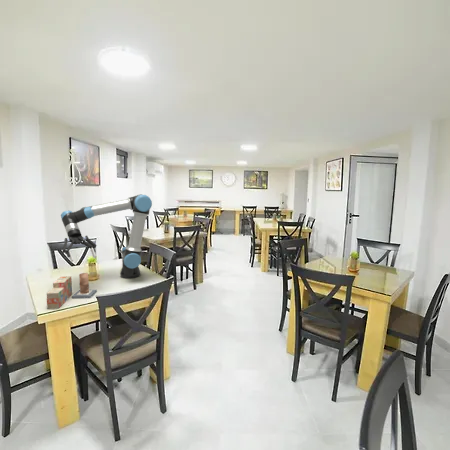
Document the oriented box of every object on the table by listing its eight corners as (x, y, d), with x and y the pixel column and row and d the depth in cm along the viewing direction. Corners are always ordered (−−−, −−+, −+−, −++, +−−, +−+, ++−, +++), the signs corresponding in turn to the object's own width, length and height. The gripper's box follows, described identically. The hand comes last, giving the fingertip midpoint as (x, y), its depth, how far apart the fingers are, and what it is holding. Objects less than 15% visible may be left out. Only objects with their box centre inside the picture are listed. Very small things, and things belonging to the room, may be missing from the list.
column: (90, 290, 178) (89, 272, 176) (87, 293, 173) (86, 275, 172) (82, 291, 178) (81, 273, 176) (78, 293, 173) (77, 275, 171)
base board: (96, 291, 181) (96, 289, 181) (90, 298, 171) (90, 295, 170) (79, 291, 180) (79, 289, 180) (71, 298, 169) (71, 295, 169)
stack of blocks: (59, 308, 155) (58, 287, 154) (46, 309, 154) (45, 288, 153) (72, 294, 176) (71, 275, 175) (61, 294, 175) (60, 276, 173)
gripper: (91, 232, 191) (101, 258, 184) (50, 237, 172) (60, 266, 165) (94, 226, 187) (105, 252, 180) (53, 230, 168) (63, 259, 161)
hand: (84, 259), depth 172 cm, fingers open, 13 cm apart
